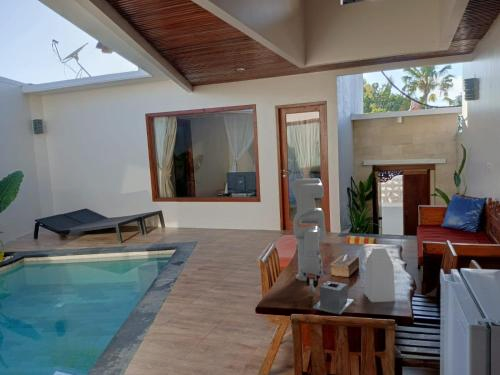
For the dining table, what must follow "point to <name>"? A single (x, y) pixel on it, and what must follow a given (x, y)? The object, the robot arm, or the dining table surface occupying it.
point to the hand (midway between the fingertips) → (312, 285)
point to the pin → (311, 282)
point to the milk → (379, 276)
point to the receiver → (333, 298)
